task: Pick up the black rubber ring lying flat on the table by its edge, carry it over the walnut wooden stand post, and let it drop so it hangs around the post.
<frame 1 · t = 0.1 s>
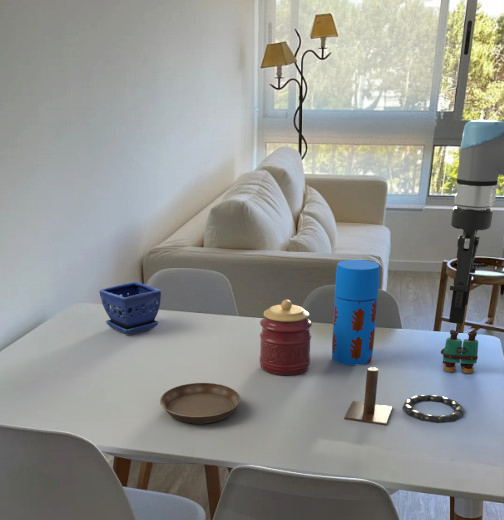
hand: (458, 313, 146), 23 cm above the table, tool pointing down, fingers open, 13 cm apart
flower pot: (132, 329, 208), on the table
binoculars: (457, 367, 182), on the table
stand: (368, 417, 154), on the table
thermos: (351, 358, 188), on the table
ring: (433, 409, 156), point 1 cm above the table
kitchen canister: (284, 367, 182), on the table
plant saucer: (200, 411, 157), on the table
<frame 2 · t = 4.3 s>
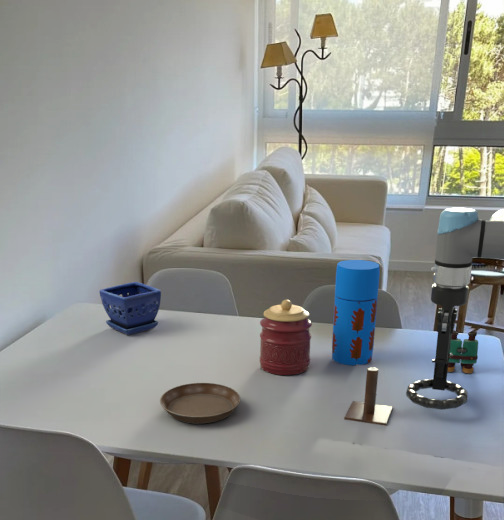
hand: (439, 386, 159), 4 cm above the table, tool pointing down, fingers closed on ring, 2 cm apart
ring: (436, 393, 154), point 5 cm above the table, touching gripper
everything else where it was.
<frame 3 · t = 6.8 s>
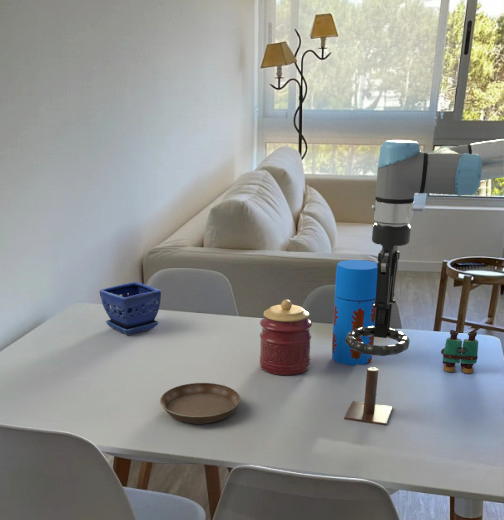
hand: (381, 334, 152), 17 cm above the table, tool pointing down, fingers closed on ring, 2 cm apart
ring: (377, 340, 147), point 18 cm above the table, touching gripper
everything else where it was.
when the fingers open (7 cm above the table, at t = 9.5 s): ring drops 5 cm, resting on stand.
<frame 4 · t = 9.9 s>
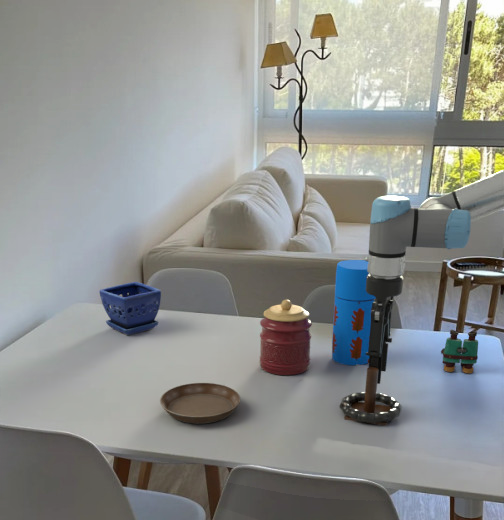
hand: (376, 376, 157), 7 cm above the table, tool pointing down, fingers open, 6 cm apart
ring: (370, 406, 154), point 2 cm above the table, touching stand
everything else where it was.
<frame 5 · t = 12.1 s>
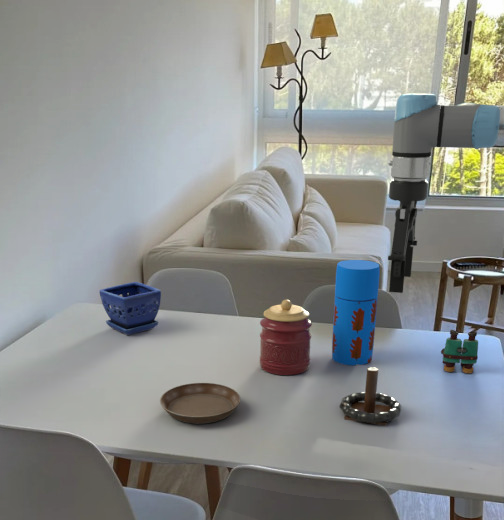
hand: (400, 283, 150), 28 cm above the table, tool pointing down, fingers open, 13 cm apart
nothing on the table moved.
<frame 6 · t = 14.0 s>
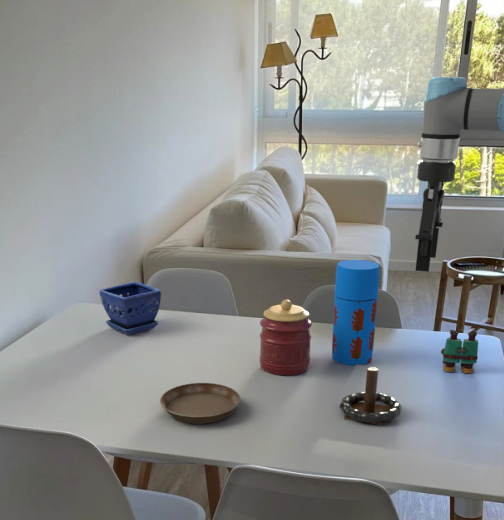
hand: (425, 263, 154), 31 cm above the table, tool pointing down, fingers open, 13 cm apart
nothing on the table moved.
at the end: ring 0.4 cm off-centre on the stand, point 2.5 cm above the stand's base; the gripper is holding nothing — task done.
